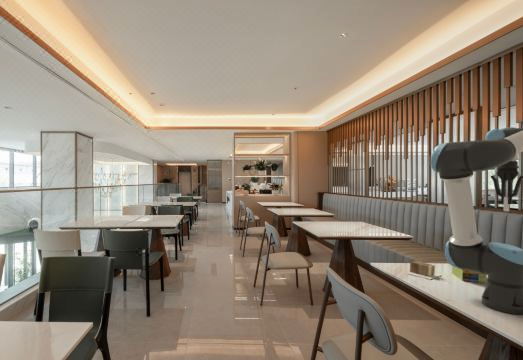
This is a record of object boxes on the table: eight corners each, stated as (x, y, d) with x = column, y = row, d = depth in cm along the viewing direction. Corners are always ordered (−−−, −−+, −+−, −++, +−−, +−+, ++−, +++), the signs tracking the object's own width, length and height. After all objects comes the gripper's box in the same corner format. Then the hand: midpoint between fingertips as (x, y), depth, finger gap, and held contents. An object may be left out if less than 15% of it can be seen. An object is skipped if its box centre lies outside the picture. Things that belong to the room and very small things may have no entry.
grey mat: (430, 279, 157) (430, 278, 157) (407, 274, 165) (408, 273, 165) (441, 275, 164) (441, 275, 164) (419, 270, 173) (419, 269, 173)
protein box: (462, 281, 156) (463, 248, 156) (451, 272, 171) (452, 243, 171) (487, 283, 154) (488, 250, 154) (474, 274, 169) (474, 244, 169)
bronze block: (410, 271, 168) (429, 276, 160) (410, 262, 168) (430, 266, 160) (414, 270, 171) (434, 275, 163) (415, 261, 171) (434, 265, 163)
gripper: (527, 161, 151) (525, 212, 151) (494, 161, 161) (492, 209, 161) (522, 160, 146) (521, 212, 146) (488, 160, 156) (487, 210, 156)
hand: (506, 210), depth 153 cm, fingers closed
